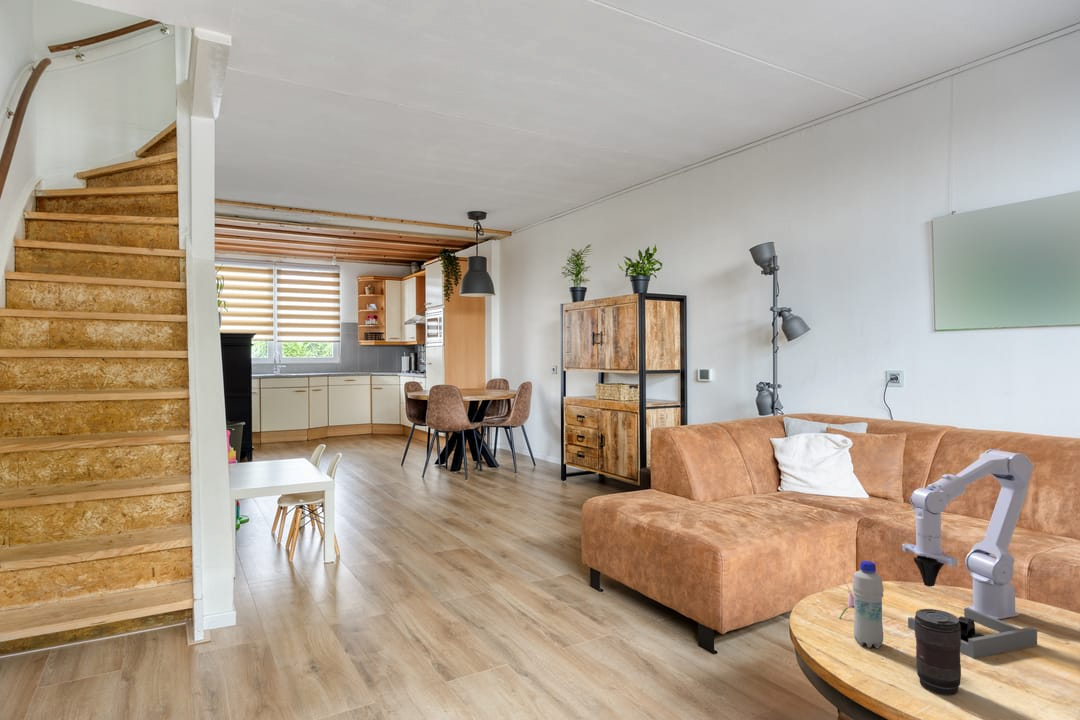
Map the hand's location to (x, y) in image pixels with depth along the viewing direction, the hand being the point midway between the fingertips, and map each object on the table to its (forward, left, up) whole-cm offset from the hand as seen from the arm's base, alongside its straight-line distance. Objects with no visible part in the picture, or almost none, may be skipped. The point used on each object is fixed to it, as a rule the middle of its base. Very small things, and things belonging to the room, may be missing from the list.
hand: (929, 585), depth 162 cm
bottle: (+28, +7, -9) cm, 30 cm away
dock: (+1, +11, -8) cm, 14 cm away
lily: (+19, -5, -9) cm, 22 cm away
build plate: (+2, +11, -9) cm, 15 cm away
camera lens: (+30, +27, -9) cm, 41 cm away
